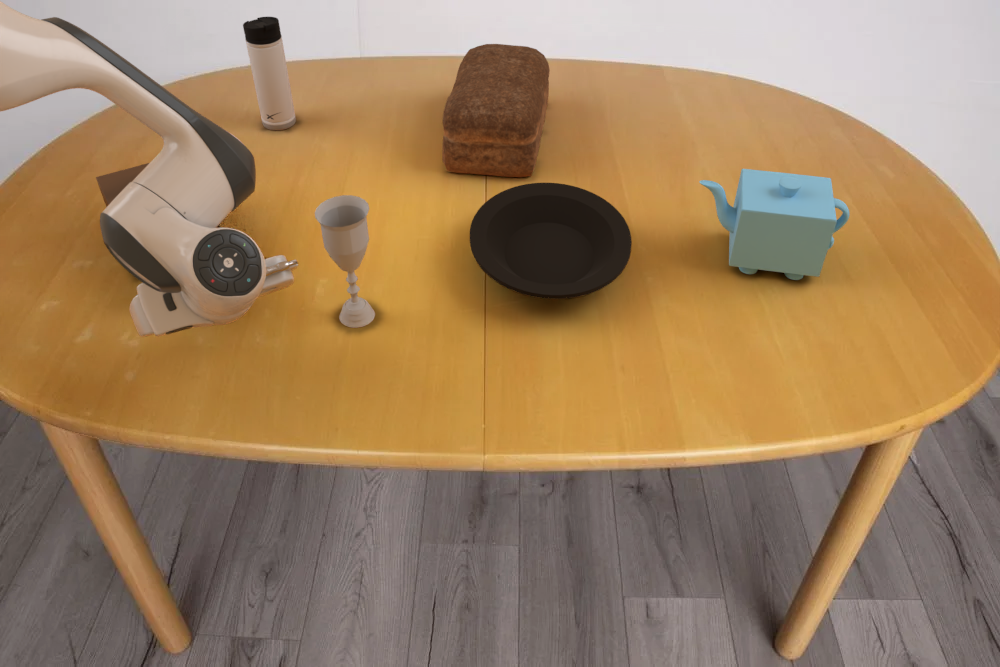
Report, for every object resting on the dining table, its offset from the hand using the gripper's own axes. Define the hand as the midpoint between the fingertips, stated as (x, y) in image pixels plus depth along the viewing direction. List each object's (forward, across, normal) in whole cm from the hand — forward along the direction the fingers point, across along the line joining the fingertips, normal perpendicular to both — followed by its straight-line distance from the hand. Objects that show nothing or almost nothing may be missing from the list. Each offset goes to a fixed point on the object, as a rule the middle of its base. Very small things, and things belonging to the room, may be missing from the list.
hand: (211, 303), depth 117 cm
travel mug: (+42, -28, -33) cm, 60 cm away
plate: (-2, -48, +11) cm, 49 cm away
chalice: (0, -18, +8) cm, 20 cm away
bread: (+24, -61, -15) cm, 67 cm away
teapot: (-13, -77, +22) cm, 81 cm away
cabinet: (+23, 0, -14) cm, 27 cm away
